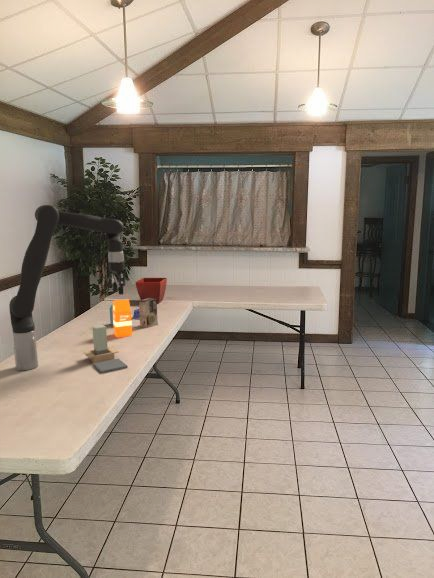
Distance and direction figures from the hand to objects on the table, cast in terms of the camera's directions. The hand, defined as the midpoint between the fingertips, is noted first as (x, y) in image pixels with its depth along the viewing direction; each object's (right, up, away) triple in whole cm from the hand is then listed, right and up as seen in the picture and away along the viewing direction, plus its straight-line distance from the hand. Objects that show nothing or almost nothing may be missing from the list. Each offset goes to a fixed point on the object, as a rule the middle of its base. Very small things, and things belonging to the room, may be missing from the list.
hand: (118, 292), depth 227 cm
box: (-6, -31, -8) cm, 33 cm away
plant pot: (+1, -8, +116) cm, 116 cm away
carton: (-6, -31, -8) cm, 33 cm away
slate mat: (0, -33, -19) cm, 38 cm away
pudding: (-2, -17, +71) cm, 73 cm away
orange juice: (-4, -24, +32) cm, 40 cm away
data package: (-10, -20, +54) cm, 59 cm away
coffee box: (+8, -20, +50) cm, 55 cm away
